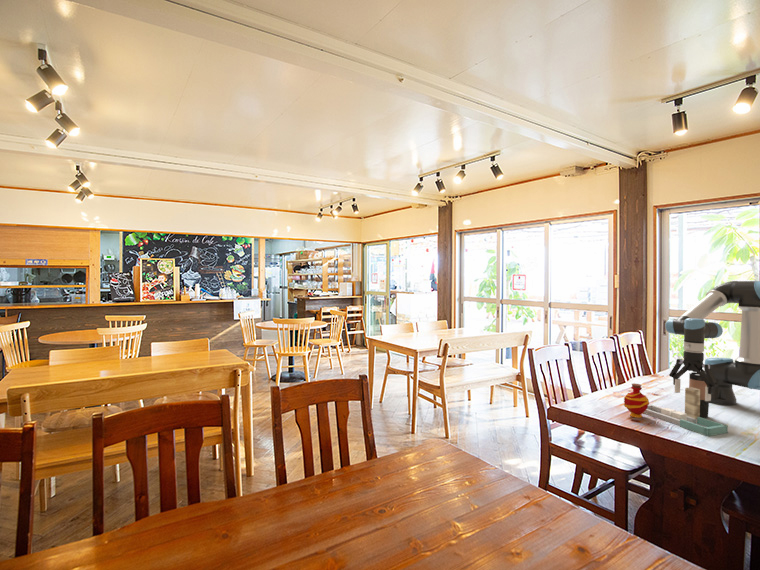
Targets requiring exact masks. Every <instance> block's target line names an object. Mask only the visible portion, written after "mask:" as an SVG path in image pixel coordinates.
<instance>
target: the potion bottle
mask: <svg viewBox="0 0 760 570" xmlns="http://www.w3.org/2000/svg"><path fill="white" fill-rule="evenodd" d="M631 389H632V391H631V392H628V393H627V394H625V396H624V397H623V403H624V404H623V406H624V407H625V408H626V409H627V411H628V412H629V413H630V414H629V416H630V417H632V418H639V419H640V418H641V419H642V418H643V415H642V414H645V413H644V412H645V411H646V409H647V407H648V405H650V400H649V398H648V397H647V396H646V395H644V394H643V393H642V392H641V391H642V390H643V389H642V384H639V383H631Z"/></svg>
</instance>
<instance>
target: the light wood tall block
mask: <svg viewBox="0 0 760 570" xmlns="http://www.w3.org/2000/svg"><path fill="white" fill-rule="evenodd" d="M684 390H685V391H684V395H685V396H684V413H685V414H687V416H689V417H692V418H695V419H696V421H697V417H700V389H696V388H692V387H690V388H689V387H685V388H684Z"/></svg>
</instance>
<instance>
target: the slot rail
mask: <svg viewBox="0 0 760 570" xmlns="http://www.w3.org/2000/svg"><path fill="white" fill-rule="evenodd" d="M662 408H663V407H660V406H657V405H655V404H650V403H649V404H648V407H647V409H646V411H645V412H644V413H643V414H645V415H649V416H651V417H653V418H657V419H660V420H663V421H665V422H668V423H672V424H674V425H678V426H680V420H679V419H676V418H673V417H670V416H667V415H664V414H661V409H662ZM687 421H688V422H691V423H694V424H697V420H696V419H695V418H692V417H689V416H687Z"/></svg>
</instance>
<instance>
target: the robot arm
mask: <svg viewBox="0 0 760 570" xmlns="http://www.w3.org/2000/svg"><path fill="white" fill-rule="evenodd" d="M726 304H738V305H737V306H738V308H739V309H740V310H741V321H740V337H739V339H740V340H739V341H740V342H739V356H738V357H737V358H735V360H734V359H733V358H731V357H730V358H729V357H708V358H706V359H704V357H705V339H715V338H716V339H717V338H720V337H721V336H722V335H723V332H724V331H723V326H721V324H719V323H717V322H714V321H709V322H707V321H705V320H704V319H706V318H707V317H708V316H710V314H712V313H713V312H714V311H715V310H716V309H718V308H719V307H723V306H725V305H726ZM664 329H665V331H666V332H668V333H669V334H674V335H678V336H683V354H682V355H683V358H677V359H676V361H675V364H674V366H673V368H672V369H671V371H670V372H669V375H668V376H669V377H671V378H673V382H672V384H673V386H674V393H675V394H676V393H677V394H679V393H681V381H682V380H681V379H680V378H681V377H682V376H683V375H684V374H685V373H686V372H687V371H689V372H697V373H698V374H699V375H700V376H701V378H702V379H703V381H704V382H705V383H706V385H707V386H705V401H709V403H710V404H711V403H712V404H718V405H724V406H726V405H727V406H735V405H736V404H737V398H736V395H735V393H734V390H733V386H736V387H737V386H738V387H741V388H747V389H750V390H755V391H756V390H757V391H760V280H749V281H748V280H747V281H746V280H745V281H744V280H743V281H742V280H739V281H738V280H732V281H726V282H723V283H721V284H718V285H716V286H715V287H713V288H712V289H710V290H708V292H706V294H705V296H704V297H703V298H702V299H700V300H699V301H698V302H697V303H695V304H694V305H693V306H692V307H690V308H689V309H688V310H686V312H684V313H682V315H680V316H679V317H678V318H669V319H668V320H667V321H666V322H665V328H664ZM682 365H683V367H682ZM706 374H707V375H706Z"/></svg>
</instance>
